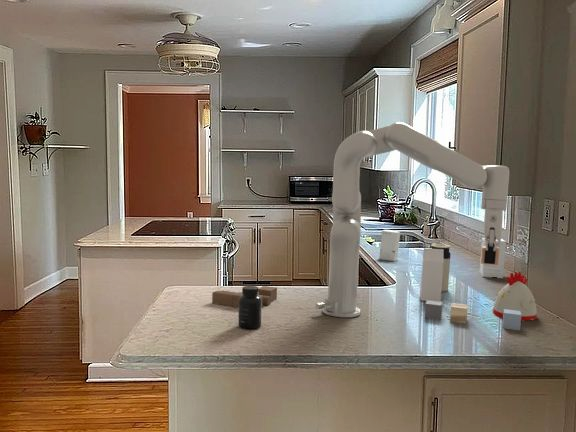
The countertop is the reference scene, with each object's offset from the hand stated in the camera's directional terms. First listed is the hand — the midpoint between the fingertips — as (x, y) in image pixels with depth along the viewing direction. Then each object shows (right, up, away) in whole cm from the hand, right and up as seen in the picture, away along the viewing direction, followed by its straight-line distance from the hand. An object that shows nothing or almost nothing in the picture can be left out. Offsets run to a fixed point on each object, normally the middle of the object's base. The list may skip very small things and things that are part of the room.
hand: (489, 261), depth 184 cm
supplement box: (+29, -13, +80) cm, 86 cm away
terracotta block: (0, -1, 0) cm, 1 cm away
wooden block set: (-78, -16, +18) cm, 82 cm away
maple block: (-8, -20, +5) cm, 22 cm away
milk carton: (-11, -17, +31) cm, 37 cm away
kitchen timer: (+13, -20, +14) cm, 28 cm away
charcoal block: (-16, -19, +7) cm, 26 cm away
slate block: (+7, -21, 0) cm, 22 cm away
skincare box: (-12, -8, +111) cm, 112 cm away
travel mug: (-4, -15, +48) cm, 50 cm away
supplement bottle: (-75, -19, -11) cm, 78 cm away
